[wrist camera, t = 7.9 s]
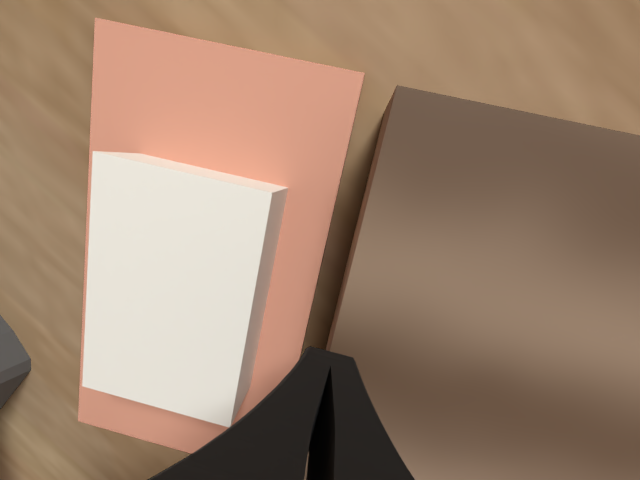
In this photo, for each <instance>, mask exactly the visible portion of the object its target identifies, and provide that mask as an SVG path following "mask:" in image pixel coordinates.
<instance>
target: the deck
mask: <svg viewBox="0 0 640 480" xmlns="http://www.w3.org/2000/svg"><path fill="white" fill-rule="evenodd" d="M325 350H327V351H330V352H334V353H338V354H342V355H346V356H350V357H353V358H354V360H355V362H356V365H357V367H358V370H359V373H360V376H361V378H362V381H363V383H364V386H365V388H366V390H367V393H368V395H369V397H370V400H371V402H372V404H373V406H374V408H375V410H376V412H377V414H378V416H379V418H380V420H381V422H382V424H383V426H384V428H385V430H386V432H387V434H388V436H389V437H390V439H391V441H392V443H393V445H394V446H395V448H396V450H397V452H398V453H399V455H400V457H401V459H402V460H403V462H404V463H405V465H406V467H407V468H408V470H409V471H410V473H411V474H412V476H413V477H414V479H415V480H640V136H639V135H635V134H630V133H625V132H620V131H615V130H610V129H605V128H601V127H596V126H591V125H586V124H581V123H576V122H572V121H567V120H562V119H557V118H552V117H547V116H543V115H538V114H533V113H528V112H523V111H518V110H514V109H509V108H504V107H499V106H494V105H489V104H485V103H480V102H475V101H470V100H465V99H460V98H456V97H451V96H446V95H441V94H436V93H431V92H427V91H422V90H417V89H412V88H407V87H402V86H397V87H396V89H395V91H394V93H393V95H392V97H391V99H390V101H389V103H388V105H387V107H386V109H385V112H384V116H383V120H382V124H381V128H380V132H379V136H378V140H377V144H376V148H375V152H374V156H373V160H372V164H371V168H370V172H369V176H368V180H367V184H366V188H365V192H364V196H363V200H362V204H361V208H360V212H359V216H358V221H357V225H356V229H355V233H354V237H353V241H352V245H351V249H350V253H349V257H348V261H347V265H346V269H345V273H344V277H343V281H342V285H341V289H340V293H339V297H338V301H337V305H336V309H335V313H334V317H333V321H332V325H331V329H330V333H329V337H328V341H327V345H326V349H325ZM308 456H309V451H308ZM308 456H307V463H306V469H305V476H304V480H306V477H307V466H308Z"/></svg>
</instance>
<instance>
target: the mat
mask: <svg viewBox="0 0 640 480" xmlns="http://www.w3.org/2000/svg"><path fill="white" fill-rule="evenodd" d="M364 74H365V73H362V72H357V71H352V70H347V69H342V68H338V67H333V66H328V65H323V64H318V63H313V62H308V61H304V60H299V59H294V58H289V57H284V56H279V55H274V54H270V53H265V52H260V51H255V50H250V49H245V48H240V47H235V46H231V45H226V44H221V43H216V42H211V41H206V40H201V39H197V38H192V37H187V36H182V35H177V34H172V33H167V32H163V31H158V30H153V29H148V28H143V27H138V26H133V25H128V24H124V23H119V22H114V21H109V20H104V19H99V18H95V32H94V56H93V80H92V103H91V127H90V151H89V175H88V199H87V222H86V246H85V270H84V294H83V317H82V341H81V365H80V389H79V413H78V421H80V422H83V423H87V424H90V425H93V426H97V427H100V428H104V429H107V430H111V431H114V432H118V433H121V434H125V435H128V436H132V437H135V438H139V439H142V440H146V441H149V442H153V443H156V444H160V445H163V446H166V447H170V448H173V449H177V450H180V451H184V452H187V453H191V454H192V453H194V452H195V451H197V450H198V449H200V448H201V447H203V446H204V445H205V444H207V443H208V442H210V441H211V440H213V439H214V438H216V437H217V436H218V435H220V434H221V433H223V432H224V431H225V430H227V429H228V428H229V427H226V426H222V425H218V424H215V423H211V422H208V421H204V420H201V419H197V418H193V417H190V416H186V415H183V414H179V413H176V412H172V411H168V410H165V409H161V408H158V407H154V406H151V405H147V404H144V403H140V402H136V401H133V400H129V399H126V398H122V397H119V396H115V395H111V394H108V393H104V392H101V391H97V390H94V389H90V388H86V387H83V386H82V380H83V358H84V335H85V312H86V290H87V267H88V245H89V222H90V200H91V177H92V155H93V151H102V152H122V153H141V154H145V155H149V156H154V157H158V158H162V159H167V160H171V161H175V162H180V163H184V164H188V165H193V166H197V167H201V168H206V169H210V170H214V171H219V172H223V173H227V174H232V175H236V176H240V177H245V178H249V179H253V180H258V181H262V182H266V183H271V184H275V185H279V186H284V187H288V192H287V197H286V202H285V208H284V213H283V218H282V223H281V229H280V234H279V239H278V244H277V250H276V255H275V260H274V265H273V271H272V276H271V281H270V286H269V291H268V297H267V302H266V307H265V312H264V318H263V323H262V328H261V333H260V339H259V344H258V349H257V354H256V359H255V365H254V370H253V375H252V380H251V386H250V388H249V390H248V392H247V394H246V396H245V398H244V400H243V402H242V404H241V406H240V408H239V410H238V413H237V415H236V417H235V419H234V421H233V423H232V425H233V424H235V423H236V422H237V421H238V420H240V419H241V418H242V417H243V416H245V415H246V414H247V413H248V412H249V411H250V410H252V409H253V408H254V407H255V406H256V405H257V404H258V403H259V402H260V401H262V400H263V399H264V398H265V397H266V396H267V395H268V394H269V393H270V392H271V391H272V390H273V389H274V388H275V387H276V386H277V385H278V384H279V383H280V382H281V381H282V380H283V379H284V377H285V376H286V375H287V374H288V373H289V372H290V371H291V370H292V368H293V367H294V366H295V365H296V363H297V362H298V361H299V359H300V355H301V351H302V347H303V342H304V338H305V334H306V329H307V325H308V320H309V316H310V312H311V307H312V303H313V299H314V294H315V290H316V285H317V281H318V277H319V272H320V268H321V264H322V259H323V255H324V250H325V246H326V242H327V237H328V233H329V229H330V224H331V220H332V215H333V211H334V207H335V202H336V198H337V194H338V189H339V185H340V181H341V176H342V172H343V167H344V163H345V159H346V154H347V150H348V146H349V141H350V137H351V132H352V128H353V124H354V119H355V115H356V111H357V106H358V102H359V97H360V93H361V89H362V84H363V80H364ZM232 425H231V426H232Z"/></svg>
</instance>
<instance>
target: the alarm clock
mask: <svg viewBox="0 0 640 480" xmlns="http://www.w3.org/2000/svg"><path fill="white" fill-rule="evenodd" d="M30 370H31V359H30V357H29V355H28V354H27V352H26V351H25V349H24V347H23V346H22V344H21V343H20V341H19V339H18V338H17V336H16V335H15V333H14V331H13V330H12V329H11V328H10V326H9V325H8V324H7V323H6V321H5V320H4V319H3V318H2V317H1V315H0V409H1V408H2V406H3V405H4V404H5V403H6V401H7V400H8V399H9V397H10V396H11V395H12V394H13V392H14V391H15V390H16V388H17V387H18V386H19V385H20V383H21V382H22V381H23V379H24V378H25V377H26V376H27V374H28V373H29V372H30Z"/></svg>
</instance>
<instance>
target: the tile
mask: <svg viewBox="0 0 640 480" xmlns="http://www.w3.org/2000/svg"><path fill="white" fill-rule="evenodd" d="M287 192H288V187H284V186H279V185H275V184H271V183H266V182H262V181H258V180H253V179H249V178H245V177H240V176H236V175H232V174H227V173H223V172H219V171H214V170H210V169H206V168H201V167H197V166H193V165H188V164H184V163H180V162H175V161H171V160H167V159H162V158H158V157H154V156H149V155H145V154H141V153H122V152H102V151H93V155H92V177H91V200H90V222H89V245H88V267H87V290H86V312H85V335H84V358H83V380H82V386H83V387H86V388H90V389H94V390H97V391H101V392H104V393H108V394H111V395H115V396H119V397H122V398H126V399H129V400H133V401H136V402H140V403H144V404H147V405H151V406H154V407H158V408H161V409H165V410H168V411H172V412H176V413H179V414H183V415H186V416H190V417H193V418H197V419H201V420H204V421H208V422H211V423H215V424H218V425H222V426H226V427H231V425H232V423H233V421H234V419H235V417H236V415H237V413H238V410H239V408H240V406H241V404H242V402H243V400H244V398H245V396H246V394H247V392H248V390H249V388H250V386H251V380H252V375H253V370H254V365H255V359H256V354H257V349H258V344H259V339H260V333H261V328H262V323H263V318H264V312H265V307H266V302H267V297H268V291H269V286H270V281H271V276H272V271H273V265H274V260H275V255H276V250H277V244H278V239H279V234H280V229H281V223H282V218H283V213H284V208H285V202H286V197H287Z"/></svg>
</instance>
